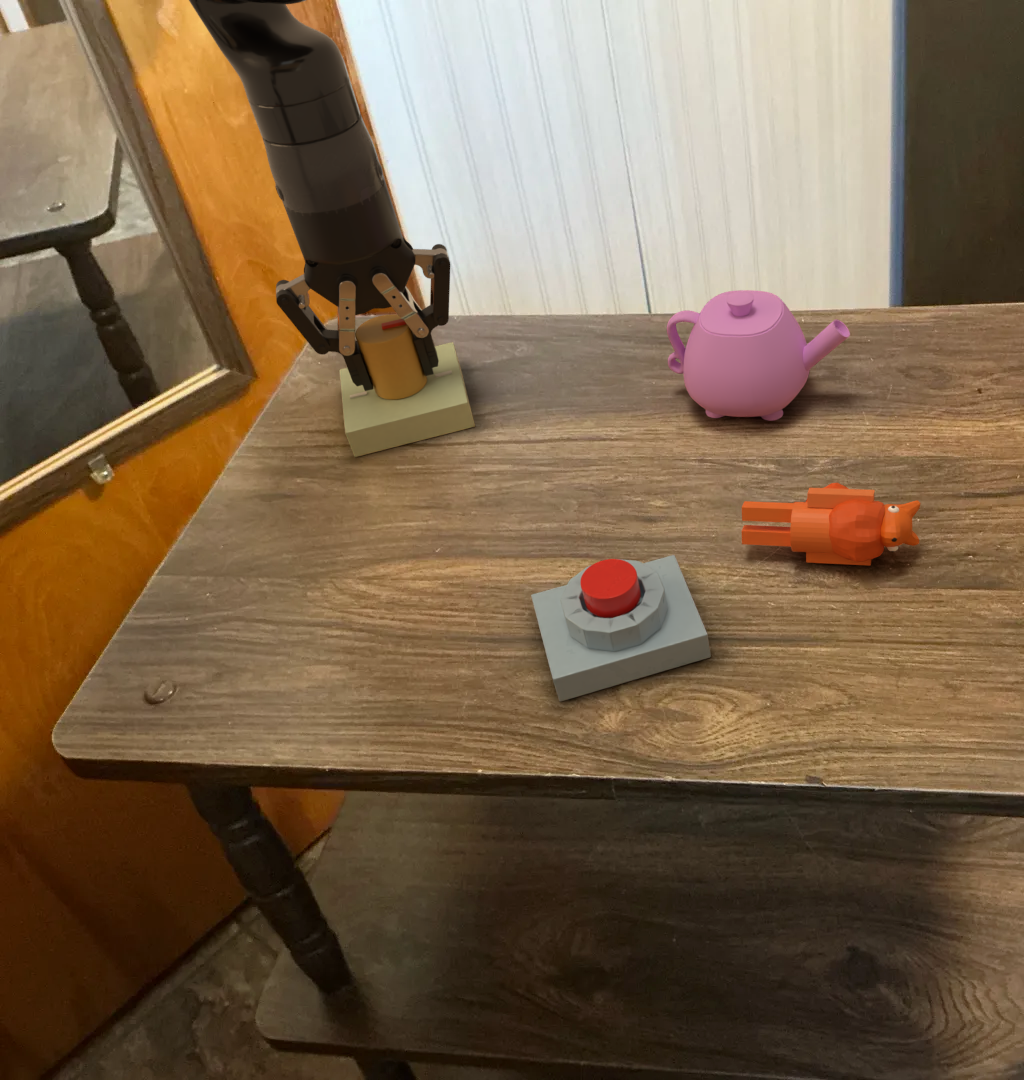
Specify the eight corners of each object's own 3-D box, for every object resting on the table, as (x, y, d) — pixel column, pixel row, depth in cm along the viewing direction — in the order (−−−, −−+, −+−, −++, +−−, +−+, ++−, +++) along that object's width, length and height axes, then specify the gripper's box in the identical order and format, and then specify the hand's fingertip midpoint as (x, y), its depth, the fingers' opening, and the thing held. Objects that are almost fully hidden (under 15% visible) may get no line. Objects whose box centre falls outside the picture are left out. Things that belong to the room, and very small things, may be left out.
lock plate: (354, 457, 93) (344, 431, 91) (348, 393, 100) (338, 367, 99) (475, 426, 95) (467, 400, 93) (460, 365, 102) (452, 340, 100)
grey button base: (559, 702, 72) (546, 660, 69) (537, 617, 77) (524, 574, 75) (711, 657, 73) (704, 614, 70) (678, 577, 79) (671, 534, 76)
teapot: (686, 358, 99) (673, 261, 93) (859, 364, 96) (857, 264, 90) (657, 430, 92) (640, 330, 86) (842, 439, 89) (839, 336, 82)
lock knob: (377, 405, 94) (355, 345, 90) (373, 377, 97) (352, 318, 93) (430, 392, 95) (410, 332, 91) (424, 365, 98) (405, 305, 94)
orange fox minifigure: (734, 502, 75) (919, 509, 73) (753, 464, 82) (923, 469, 80) (736, 572, 77) (916, 581, 75) (755, 528, 84) (920, 536, 82)
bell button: (591, 624, 71) (586, 604, 70) (580, 587, 74) (574, 567, 73) (647, 608, 72) (643, 588, 71) (633, 572, 74) (629, 552, 73)
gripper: (423, 145, 88) (476, 335, 99) (234, 185, 86) (311, 375, 97) (433, 183, 82) (489, 380, 94) (232, 228, 80) (314, 424, 92)
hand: (398, 377), depth 95 cm, fingers closed on lock knob, 4 cm apart
